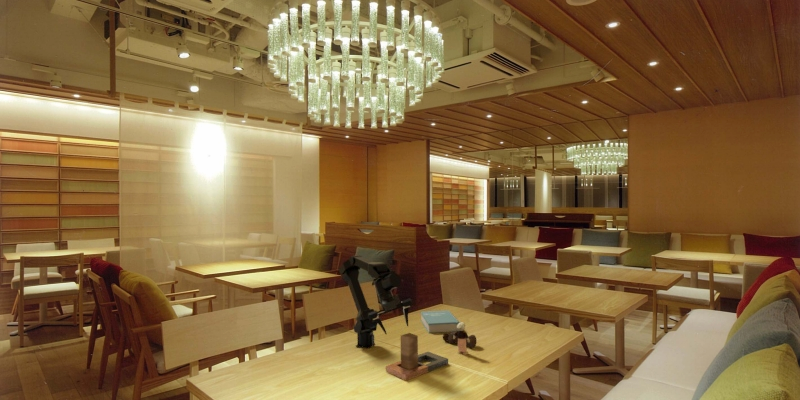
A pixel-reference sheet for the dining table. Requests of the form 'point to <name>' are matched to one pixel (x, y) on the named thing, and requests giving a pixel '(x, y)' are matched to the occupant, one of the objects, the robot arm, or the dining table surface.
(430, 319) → the book
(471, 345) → the bolt
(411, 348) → the walnut post
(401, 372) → the grey-tan flat frame piece
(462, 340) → the grandmother figurine
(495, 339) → the dining table surface
